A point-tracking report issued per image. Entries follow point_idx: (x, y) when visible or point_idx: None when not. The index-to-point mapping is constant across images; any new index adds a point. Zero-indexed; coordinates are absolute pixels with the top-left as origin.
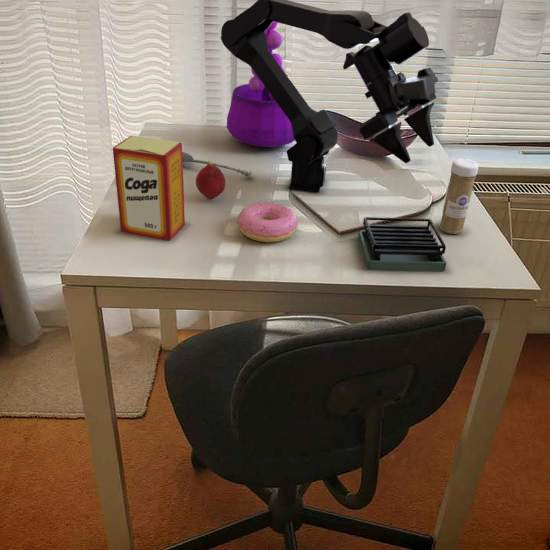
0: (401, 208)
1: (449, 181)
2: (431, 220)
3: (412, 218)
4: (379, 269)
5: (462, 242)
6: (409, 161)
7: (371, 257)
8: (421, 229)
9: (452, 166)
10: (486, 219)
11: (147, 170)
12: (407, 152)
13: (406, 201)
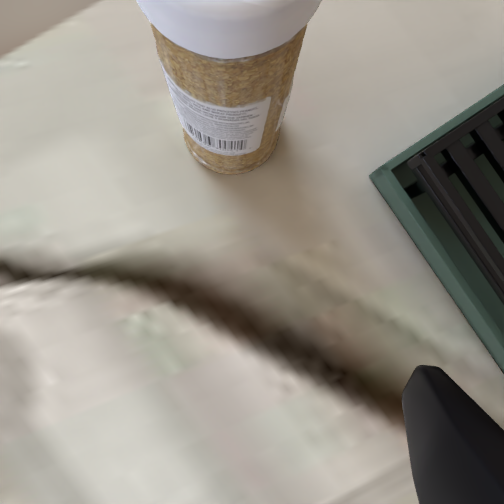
0: (161, 371)
1: (250, 88)
2: (434, 144)
3: (471, 223)
4: None
5: (307, 62)
6: (434, 367)
7: None
8: (466, 176)
9: (289, 20)
10: (46, 35)
11: None
12: (466, 426)
13: (75, 381)
